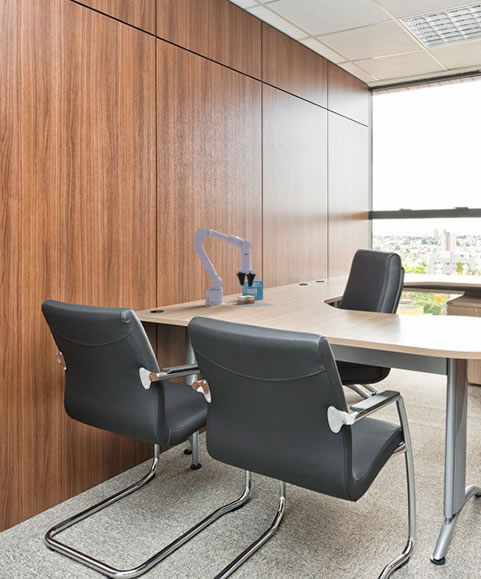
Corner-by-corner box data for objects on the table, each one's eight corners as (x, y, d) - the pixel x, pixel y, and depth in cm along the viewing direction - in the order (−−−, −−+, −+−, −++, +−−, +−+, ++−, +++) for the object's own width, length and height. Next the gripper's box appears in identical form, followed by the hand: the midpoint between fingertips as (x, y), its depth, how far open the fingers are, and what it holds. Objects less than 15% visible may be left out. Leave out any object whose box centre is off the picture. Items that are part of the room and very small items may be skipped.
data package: (245, 301, 324) (245, 281, 323) (242, 300, 328) (242, 280, 327) (263, 300, 330) (263, 280, 329) (259, 299, 334) (259, 279, 333)
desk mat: (248, 308, 295) (248, 307, 295) (230, 304, 309) (230, 303, 309) (274, 305, 305) (274, 304, 305) (256, 302, 319) (256, 301, 319)
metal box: (242, 304, 306) (242, 297, 306) (237, 303, 310) (237, 296, 310) (254, 303, 311) (254, 296, 310) (249, 302, 315) (249, 295, 314)
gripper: (259, 262, 304) (259, 286, 306) (244, 261, 316) (244, 284, 318) (248, 262, 300) (249, 287, 302) (234, 261, 312) (234, 285, 314)
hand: (246, 286), depth 310 cm, fingers open, 7 cm apart
